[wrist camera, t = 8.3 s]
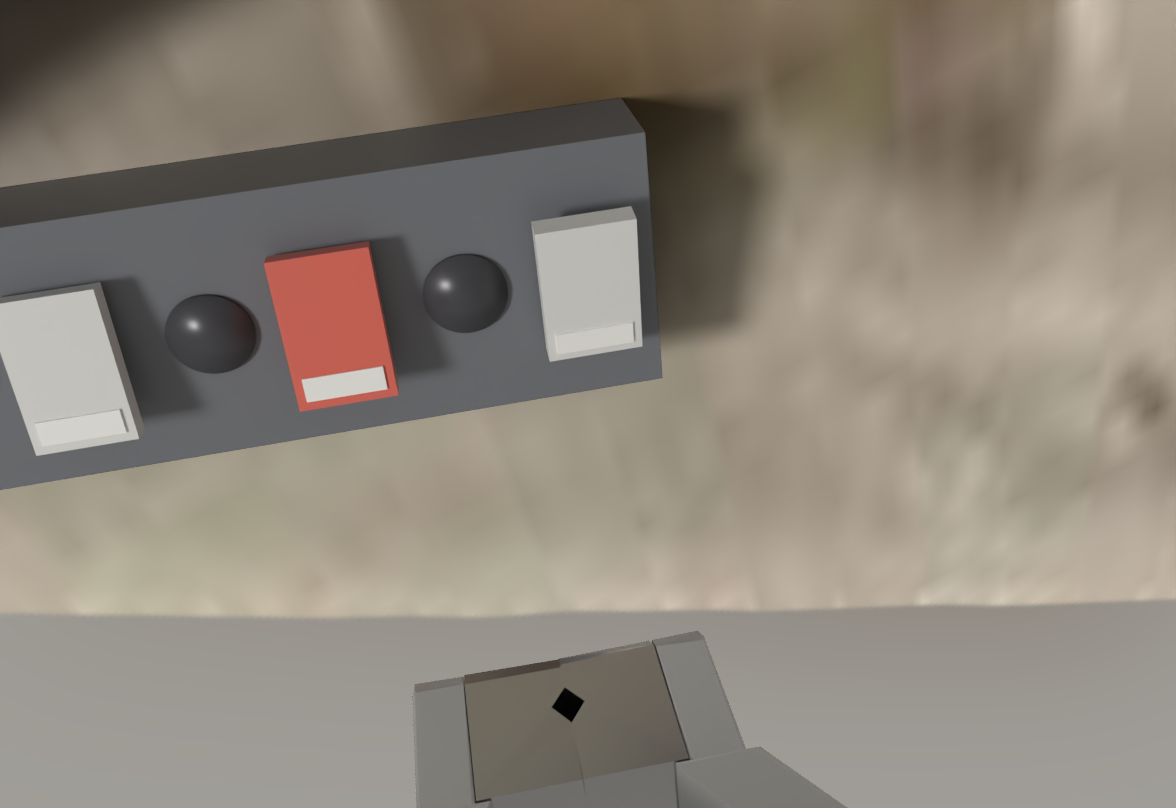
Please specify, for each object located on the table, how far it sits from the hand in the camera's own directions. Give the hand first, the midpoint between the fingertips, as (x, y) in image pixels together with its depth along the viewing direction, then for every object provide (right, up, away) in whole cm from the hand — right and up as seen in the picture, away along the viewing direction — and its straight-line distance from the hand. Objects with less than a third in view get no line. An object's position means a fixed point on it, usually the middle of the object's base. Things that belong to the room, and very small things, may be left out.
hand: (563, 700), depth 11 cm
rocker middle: (-8, +6, +24) cm, 26 cm away
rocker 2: (0, +7, +24) cm, 25 cm away
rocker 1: (-16, +4, +23) cm, 28 cm away
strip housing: (-10, +8, +28) cm, 31 cm away
